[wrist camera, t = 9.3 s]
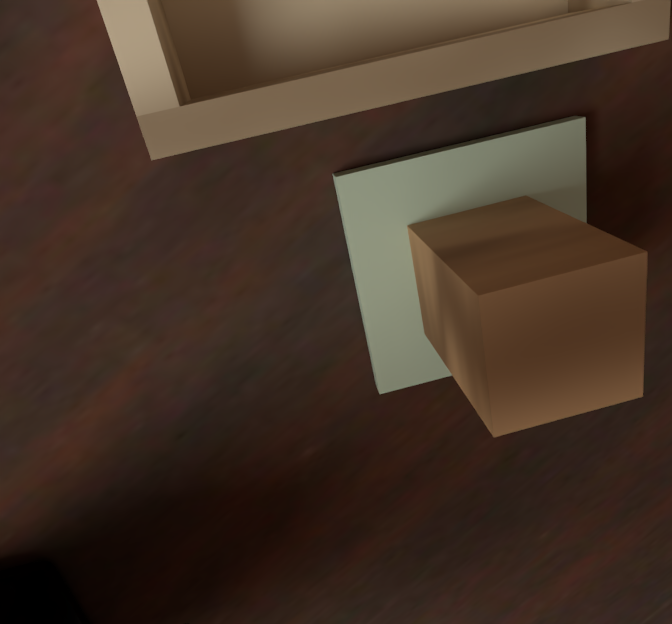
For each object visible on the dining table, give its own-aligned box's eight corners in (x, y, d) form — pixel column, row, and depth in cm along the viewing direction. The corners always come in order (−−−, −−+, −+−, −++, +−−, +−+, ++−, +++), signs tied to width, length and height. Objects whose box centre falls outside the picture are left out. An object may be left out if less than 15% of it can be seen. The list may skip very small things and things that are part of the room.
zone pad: (578, 332, 21) (587, 339, 21) (376, 385, 21) (379, 394, 20) (575, 115, 18) (585, 117, 17) (332, 173, 17) (335, 177, 17)
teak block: (533, 305, 20) (643, 396, 14) (424, 333, 19) (493, 437, 14) (526, 195, 18) (648, 251, 13) (407, 225, 18) (478, 296, 12)
